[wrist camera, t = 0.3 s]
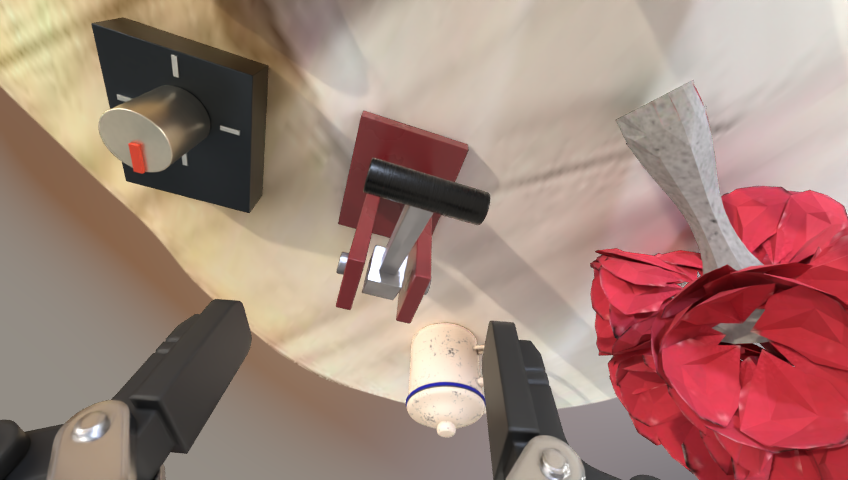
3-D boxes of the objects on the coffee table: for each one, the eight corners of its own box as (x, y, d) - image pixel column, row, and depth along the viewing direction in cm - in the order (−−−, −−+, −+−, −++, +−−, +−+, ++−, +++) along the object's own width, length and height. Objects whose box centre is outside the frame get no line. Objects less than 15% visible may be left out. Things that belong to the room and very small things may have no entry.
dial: (145, 76, 25) (86, 100, 20) (209, 96, 25) (164, 123, 21) (153, 132, 27) (102, 163, 23) (211, 149, 28) (172, 182, 24)
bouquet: (506, 176, 39) (622, 410, 41) (509, 173, 17) (769, 700, 18) (719, 66, 34) (845, 345, 35) (1169, -166, 11) (1466, 651, 12)
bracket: (363, 110, 29) (320, 201, 18) (467, 144, 30) (485, 246, 19) (340, 217, 35) (298, 331, 24) (427, 240, 37) (423, 357, 26)
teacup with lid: (431, 368, 51) (430, 457, 42) (396, 333, 46) (387, 425, 37) (509, 344, 47) (528, 436, 38) (481, 303, 42) (493, 398, 33)
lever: (376, 140, 14) (362, 189, 13) (492, 177, 15) (488, 225, 14) (349, 255, 25) (340, 288, 24) (418, 273, 25) (413, 305, 24)
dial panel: (123, 17, 25) (88, 23, 23) (268, 65, 27) (251, 76, 24) (148, 165, 32) (124, 182, 30) (262, 195, 34) (248, 214, 31)
